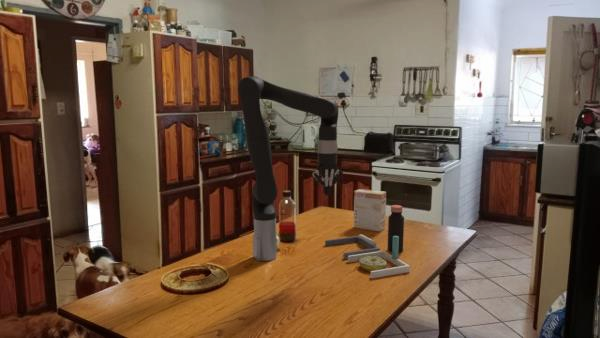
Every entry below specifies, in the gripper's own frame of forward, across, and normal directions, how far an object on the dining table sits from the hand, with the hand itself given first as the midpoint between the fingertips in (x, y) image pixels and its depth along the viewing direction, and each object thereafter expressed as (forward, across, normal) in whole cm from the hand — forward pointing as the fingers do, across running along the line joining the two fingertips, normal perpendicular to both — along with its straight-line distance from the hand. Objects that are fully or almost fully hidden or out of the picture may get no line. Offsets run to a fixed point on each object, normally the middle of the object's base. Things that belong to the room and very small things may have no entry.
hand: (327, 195), depth 181 cm
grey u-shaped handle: (+29, -18, -13) cm, 37 cm away
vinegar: (+29, -36, -5) cm, 47 cm away
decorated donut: (+30, -16, +9) cm, 35 cm away
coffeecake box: (+29, -43, -39) cm, 65 cm away
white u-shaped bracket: (+29, -18, +9) cm, 36 cm away
